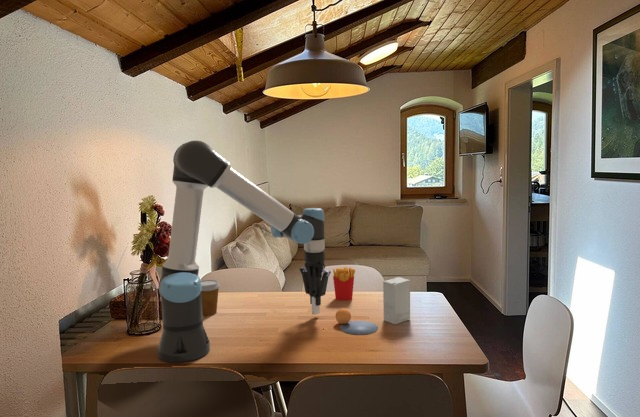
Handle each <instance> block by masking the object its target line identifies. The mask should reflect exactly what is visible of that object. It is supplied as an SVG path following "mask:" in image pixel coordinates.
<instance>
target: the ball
mask: <svg viewBox="0 0 640 417" xmlns="http://www.w3.org/2000/svg"><path fill="white" fill-rule="evenodd" d="M334 317H335V320H336V322H337V323H338V324H340V325H342V324H347V323H348V322H350V321H351V319H352V314H351V311H350V310H349V309H347V308H344V307H342V308H340V309H338V310H337V311H336V312H335V316H334Z"/></svg>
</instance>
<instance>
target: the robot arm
mask: <svg viewBox="0 0 640 417" xmlns="http://www.w3.org/2000/svg"><path fill="white" fill-rule="evenodd" d="M172 161H173V169H172V170H173V171H172V183H173V184H174V185H175V187H176V188H175V189H176V190H175V198H174V205H173V213H172V214H173V216H172V222H171V231H170V240H169V247H168V248H169V249H168V257H167V260H166V261H164V262H163V263H162V265H161V266H162V267H161V274H160V275H161V276H160V279H159V282H158V293H159V295H160V302H161V315H162V316H161V318H162V332H161V336H160V339H159V340H160V341H159V345H158V347H157V355H158V358H159V359H160V360H161V361H163V362H167V363H184V362H185V363H186V362H190V361H196V360H199V359H201V358H202V357H205V356H206V355H207V354H209V353H210V350H211V345H210V344H211V343H210V340H209V337H208V335H207V332H206V330H205V328H204V321H203V320H204V318H203V315H202V294H201V291H202V285H201V281H202V280H201V278H200V277H199V271H200V266H199V265H198V264H197V262H196V256H197V249H198V248H197V247H198V240H199V231H200V224H201V214H202V205H203V199H204V198H203V197H204V190H206V188H208V187H210V188H211V189H212V188H217V189H218V190H219V191H221V192H222V193H224V194H225V195H226V196H228V197H230V198H231V199H232V200H234V201H235V202H237V203H239V204H240V205H241V206H243V207H244V208H246V209H247V210H249V211H250V212H252V213H253V214H254V215H256V216H257V217H259V218H260V219H262V220H263V221H265V222H266V223H267V224H269V226H270V232H271V235H272V237H273V238H287V239H289V240H292V241H293V242H295V243H296V244H302V245H303V250H304V253H303V258H304V262H305V263H304V266H302V267H300V268H299V271H300V273H301V278H302V281H303V282H302V283H303V286H304V287H303V288H304V292H305V294H306V295H309V297H310V298H309V301H310V305H311V315H313V316H316V315H318V314H320V306H321V304H322V298H321V297H323V296H325V295H326V292H327V286H328V281H329V277H330V274H331V270H328V269H327V268H326V265H325V261H326V252H325V251H324V250H325V249H326V248H325V245H326V244H325V221H326V220H325V211H324V209H322V208H320V207H308V208H307V207H306V208H303V210H302V211H303V212H302V214H296V213H295V212H294V211H292V210H291V209H289V208H288V207H286V206H285V205H284V204H282V203H281V202H280V201H279V200H277V199H275V198H274V197H273V196H271V195H270V194H268V193H267V192H265V190H263V189H262V188H260V187H259V186H257V185H256V184H254V182H252V181H251V180H249V179H247V178H246V177H245V176H243V175H242V174H241V173H239V172H238V170H237V171H236V170H235V169H234V168H233V167H232V166H231V163H230V162H231V161H229V160H228V159H225V157H223V156H222V155H221V154H220V153H218V152H217V151H216V150H215V149H214V148H213V147H212V146H210V145H209V144H208V143H206V142H204V141H202V140H190V141H187V142H184V143H183V144H181V145H180V146H179V147H178V148H176V150H175V152H174V154H173V160H172Z"/></svg>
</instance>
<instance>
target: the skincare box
mask: <svg viewBox="0 0 640 417" xmlns="http://www.w3.org/2000/svg"><path fill="white" fill-rule="evenodd" d="M382 284H383V285H382V286H383V293H382V294H383V300H382V301H383V321H385V322H387V323H390V324H393V325H397V324H401V323H403V322H406V321H409V320H411V280H410V279H407V278H403V277H400V276H396V277H394V278H391V279H387V280H386V279H385V280H383V283H382Z"/></svg>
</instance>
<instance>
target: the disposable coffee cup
mask: <svg viewBox="0 0 640 417" xmlns="http://www.w3.org/2000/svg"><path fill="white" fill-rule="evenodd" d="M201 285H202V291H201V294H202V315H204V316H205V317H206V316H208V315H209V316H212V315H215V314H217V311H218V300H219V290H220V289H219V288H220V286H221V285H220V282H219V280H217V279H203V280H201Z"/></svg>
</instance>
